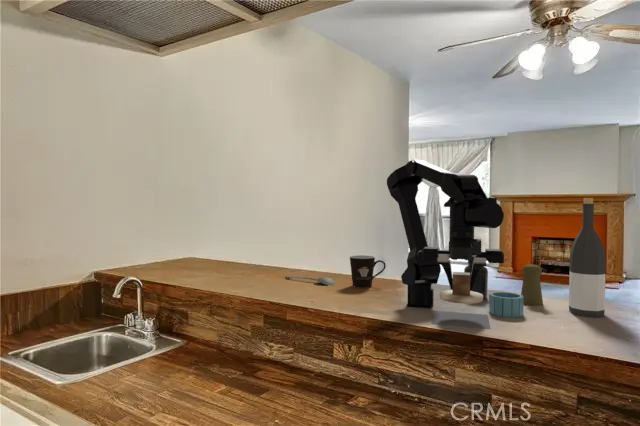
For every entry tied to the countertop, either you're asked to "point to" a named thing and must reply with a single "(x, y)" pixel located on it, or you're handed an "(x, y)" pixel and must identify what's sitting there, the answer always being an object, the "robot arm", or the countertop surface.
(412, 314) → the countertop surface
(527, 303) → the cork
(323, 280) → the soupspoon
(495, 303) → the ceramic bowl
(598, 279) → the wine bottle
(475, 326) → the rubber mat
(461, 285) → the wooden lid
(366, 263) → the coffee mug
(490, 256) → the robot arm
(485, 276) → the supplement bottle
